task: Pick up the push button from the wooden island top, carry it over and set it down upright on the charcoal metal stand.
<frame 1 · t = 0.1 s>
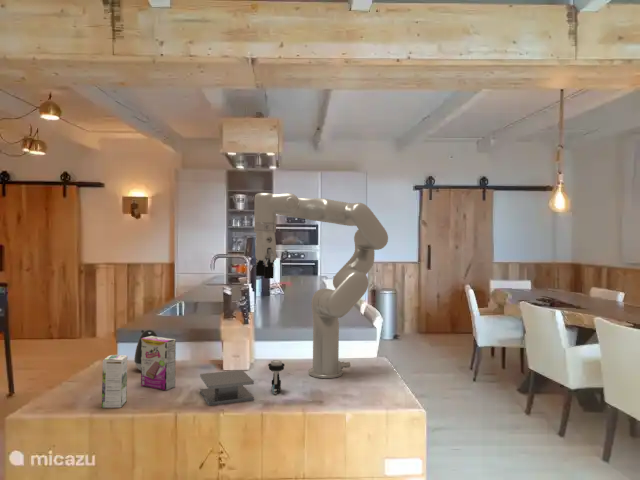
hand: (264, 277, 183), 37 cm above the countertop, tool pointing down, fingers open, 9 cm apart
candy bar box: (158, 387, 175), on the countertop
push button: (275, 392, 171), on the countertop
syrup box: (114, 405, 157), on the countertop
stand: (226, 396, 166), on the countertop
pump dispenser: (148, 370, 196), on the countertop
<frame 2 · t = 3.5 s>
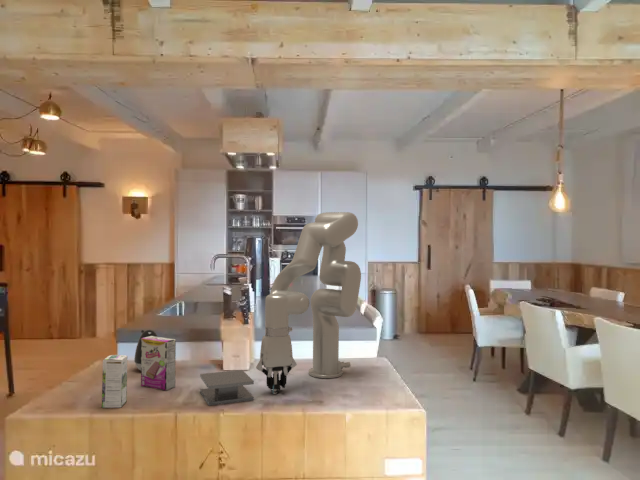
hand: (276, 387, 171), 2 cm above the countertop, tool pointing down, fingers closed on push button, 3 cm apart
push button: (275, 392, 171), on the countertop, touching gripper
everything else where it was.
when the fingers open (10 cm above the countertop, at t = 8.6 s): push button moves 1 cm, resting on stand.
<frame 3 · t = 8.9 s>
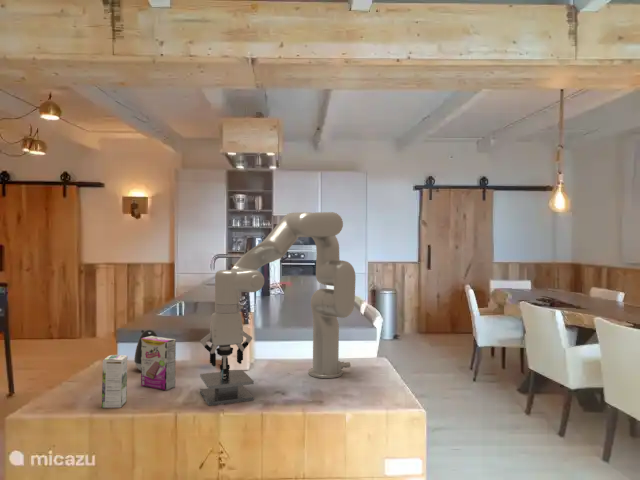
hand: (226, 363, 166), 10 cm above the countertop, tool pointing down, fingers open, 7 cm apart
push button: (224, 378, 166), point 6 cm above the countertop, touching stand
everything else where it was.
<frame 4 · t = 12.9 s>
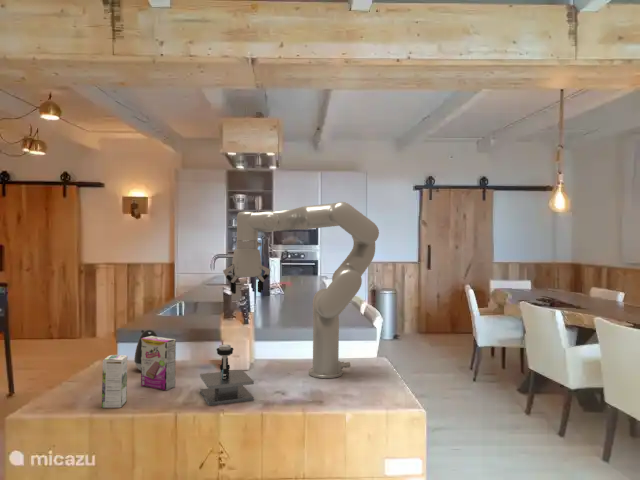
hand: (246, 292, 189), 30 cm above the countertop, tool pointing down, fingers open, 9 cm apart
nothing on the countertop moved.
at the end: push button inside the target area on the stand (0.5 cm from its centre), point 5.8 cm above the stand's base; push button tilted 0°; the gripper is holding nothing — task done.
